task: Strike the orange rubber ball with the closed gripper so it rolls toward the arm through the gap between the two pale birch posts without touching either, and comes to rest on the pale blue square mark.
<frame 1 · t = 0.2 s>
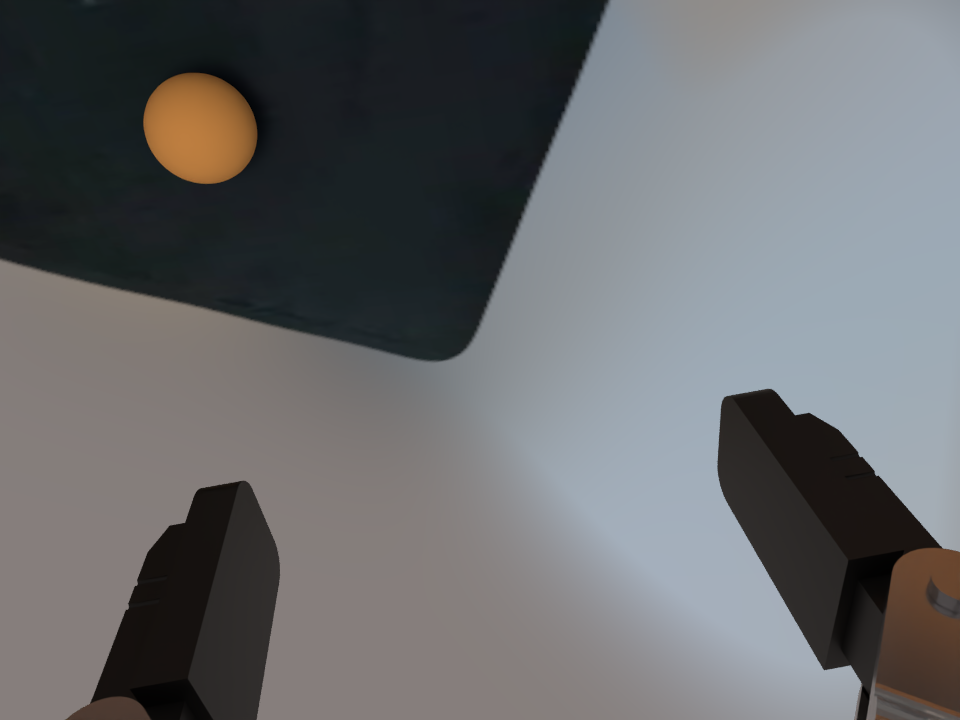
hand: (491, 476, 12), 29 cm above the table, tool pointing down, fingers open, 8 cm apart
ball: (202, 129, 33), on the table
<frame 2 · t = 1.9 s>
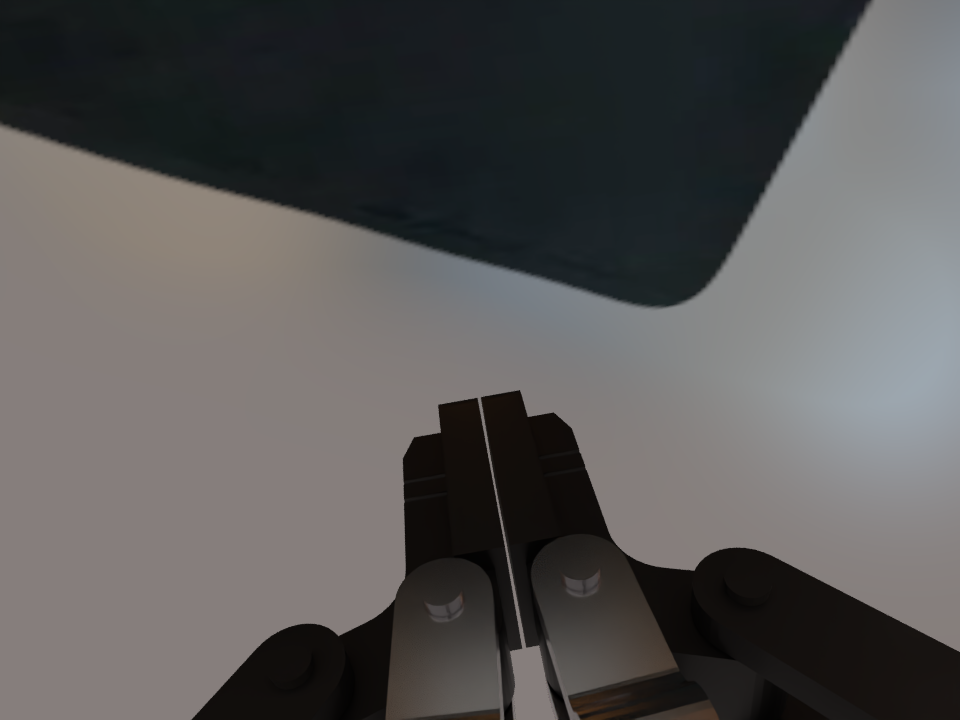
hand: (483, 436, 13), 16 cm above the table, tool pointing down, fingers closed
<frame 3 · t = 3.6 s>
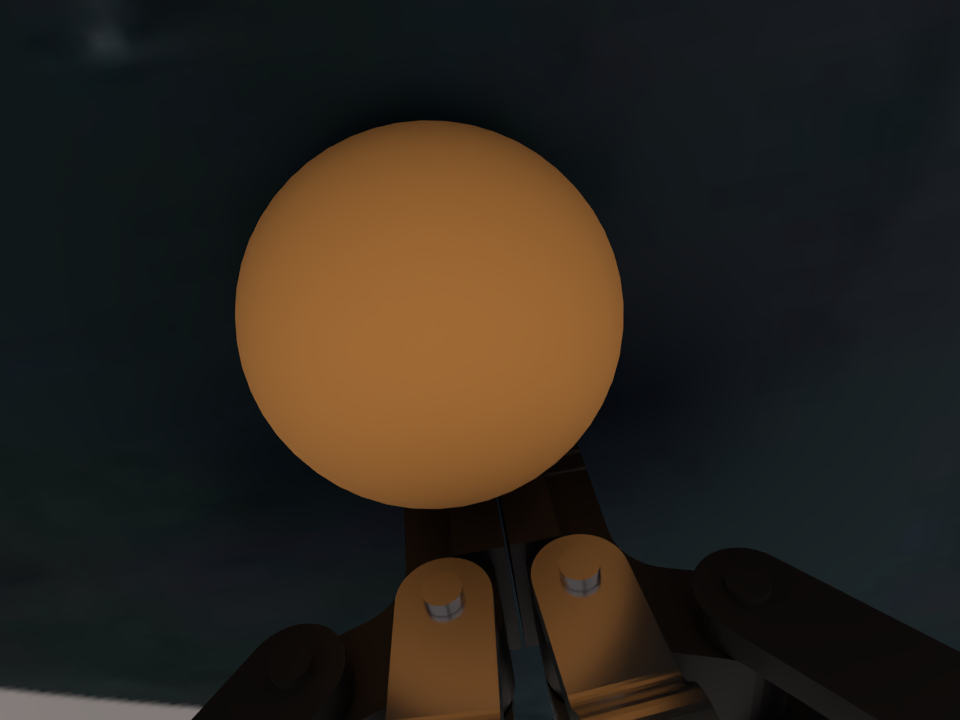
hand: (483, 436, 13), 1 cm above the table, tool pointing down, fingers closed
ball: (432, 317, 9), on the table
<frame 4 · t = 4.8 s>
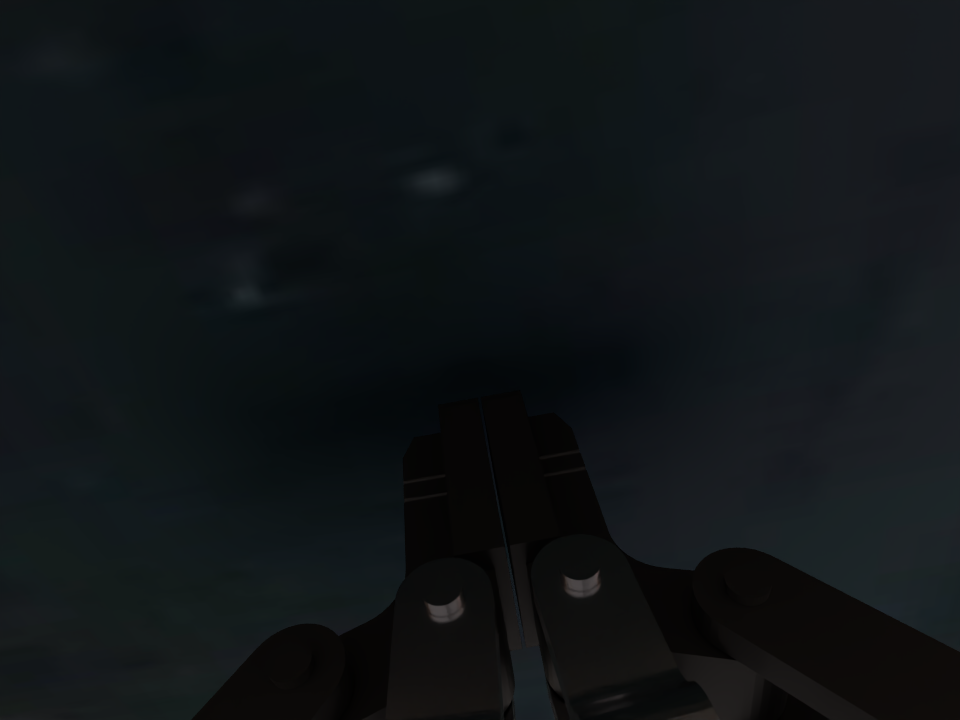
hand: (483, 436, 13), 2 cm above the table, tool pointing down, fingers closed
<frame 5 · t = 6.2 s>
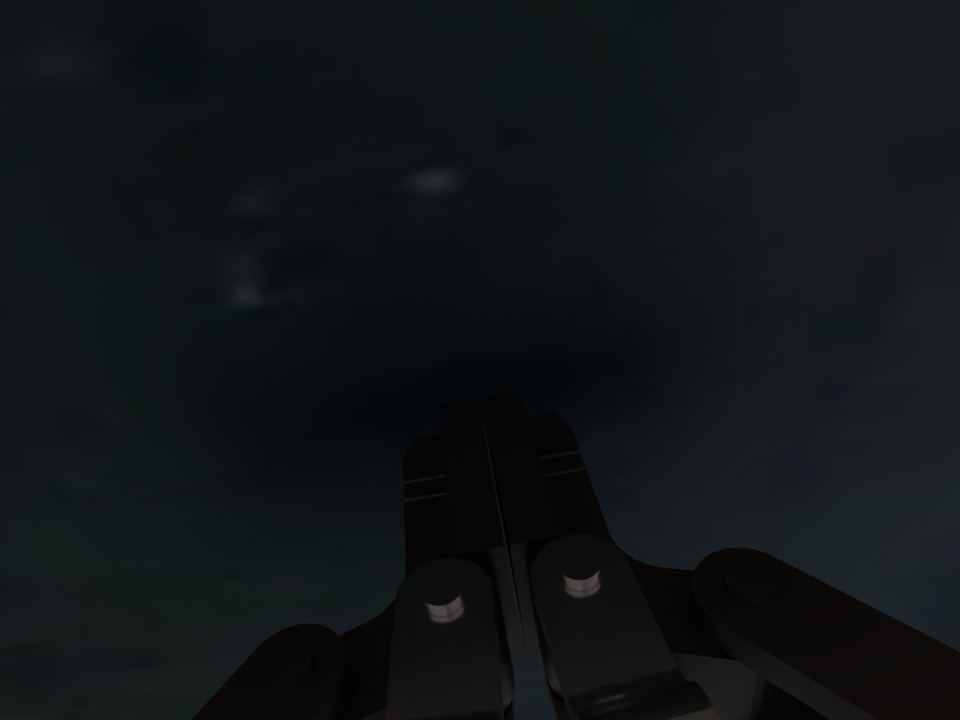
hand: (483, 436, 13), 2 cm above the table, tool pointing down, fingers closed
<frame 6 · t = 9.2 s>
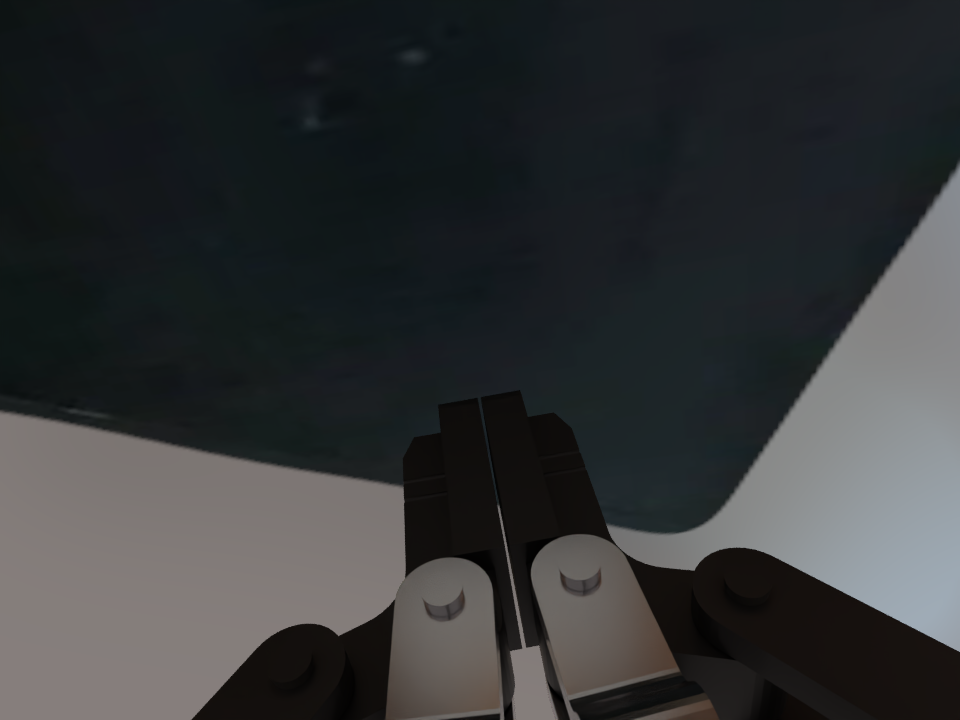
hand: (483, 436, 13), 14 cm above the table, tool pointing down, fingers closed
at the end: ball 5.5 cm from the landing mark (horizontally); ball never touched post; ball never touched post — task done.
